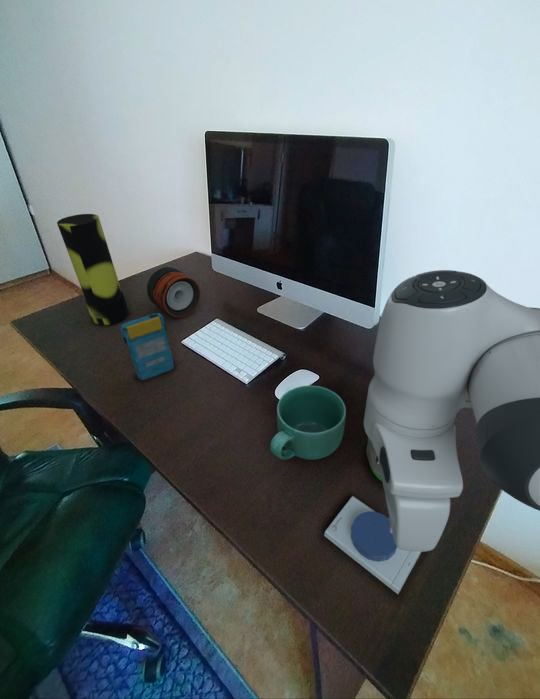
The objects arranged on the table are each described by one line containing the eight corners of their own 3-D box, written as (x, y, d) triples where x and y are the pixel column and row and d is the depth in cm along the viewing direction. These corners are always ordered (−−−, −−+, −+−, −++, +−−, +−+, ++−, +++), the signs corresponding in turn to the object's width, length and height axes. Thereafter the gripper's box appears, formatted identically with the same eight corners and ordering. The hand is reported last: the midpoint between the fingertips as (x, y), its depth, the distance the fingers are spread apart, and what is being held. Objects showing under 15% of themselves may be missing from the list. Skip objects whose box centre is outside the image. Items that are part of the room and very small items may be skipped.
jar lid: (361, 508, 60) (362, 503, 59) (403, 531, 56) (405, 526, 56) (343, 544, 55) (344, 539, 54) (387, 571, 52) (389, 566, 51)
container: (85, 319, 114) (47, 221, 97) (116, 305, 121) (85, 211, 103) (105, 330, 109) (69, 228, 91) (136, 314, 116) (107, 217, 98)
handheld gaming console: (172, 361, 96) (160, 311, 87) (178, 369, 93) (166, 318, 84) (135, 374, 92) (118, 324, 83) (140, 384, 89) (123, 332, 80)
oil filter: (167, 324, 110) (158, 284, 103) (148, 309, 118) (138, 272, 110) (203, 308, 117) (197, 270, 109) (183, 295, 125) (176, 259, 117)
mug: (309, 409, 80) (310, 375, 75) (355, 442, 72) (360, 408, 67) (249, 451, 72) (246, 417, 66) (294, 494, 64) (294, 460, 58)
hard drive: (324, 531, 57) (399, 590, 50) (352, 494, 62) (425, 544, 55) (323, 536, 58) (397, 595, 51) (351, 500, 63) (422, 549, 56)
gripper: (364, 359, 49) (354, 431, 57) (395, 501, 32) (376, 574, 40) (413, 359, 48) (397, 432, 56) (471, 504, 31) (436, 578, 39)
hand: (388, 492), depth 48 cm, fingers open, 8 cm apart
